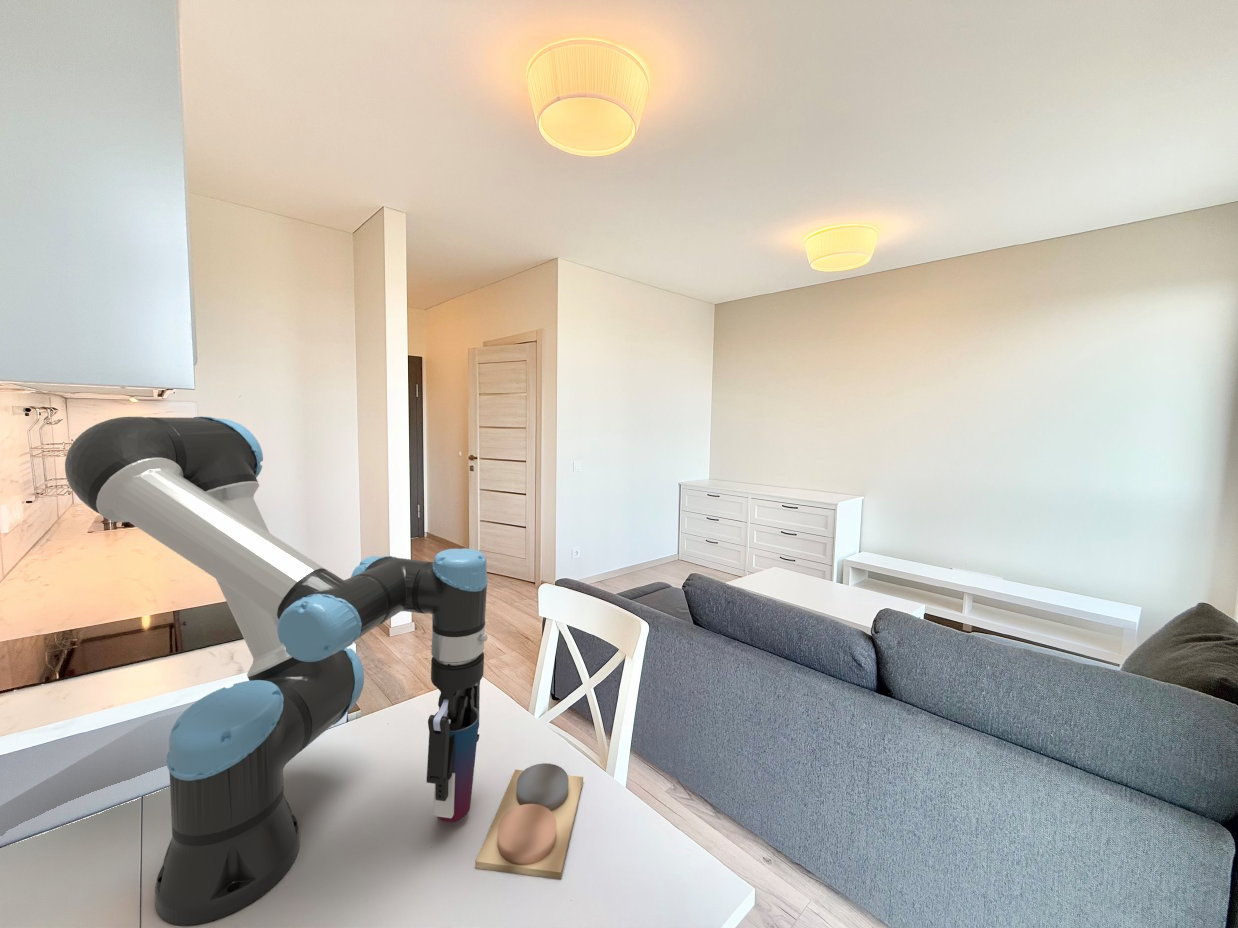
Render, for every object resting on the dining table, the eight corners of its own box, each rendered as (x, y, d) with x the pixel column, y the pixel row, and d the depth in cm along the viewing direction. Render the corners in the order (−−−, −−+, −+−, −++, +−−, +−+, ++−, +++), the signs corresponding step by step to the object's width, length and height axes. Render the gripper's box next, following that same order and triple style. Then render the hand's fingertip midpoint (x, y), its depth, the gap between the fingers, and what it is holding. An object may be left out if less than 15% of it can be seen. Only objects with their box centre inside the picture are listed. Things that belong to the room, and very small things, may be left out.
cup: (462, 831, 71) (465, 735, 70) (420, 821, 73) (422, 726, 71) (484, 797, 78) (487, 708, 77) (445, 788, 79) (448, 700, 78)
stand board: (475, 867, 67) (475, 847, 67) (515, 774, 85) (515, 758, 85) (560, 878, 66) (561, 858, 66) (583, 782, 84) (583, 765, 84)
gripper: (455, 691, 63) (450, 855, 65) (503, 629, 82) (498, 758, 84) (400, 684, 64) (396, 847, 66) (460, 625, 83) (456, 753, 85)
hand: (453, 797), depth 75 cm, fingers closed on cup, 6 cm apart
